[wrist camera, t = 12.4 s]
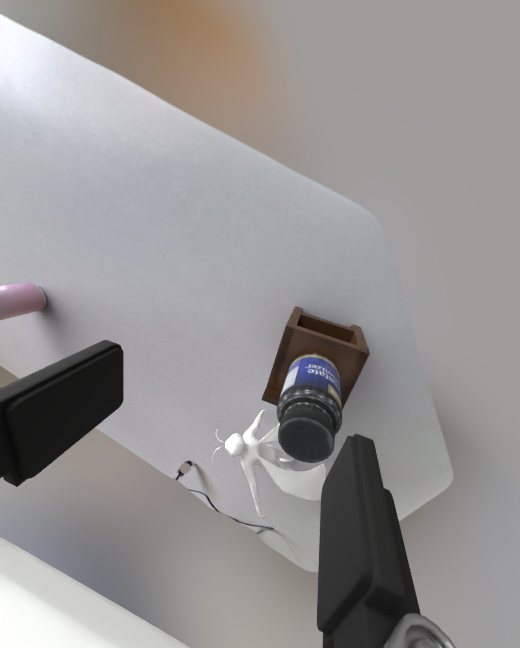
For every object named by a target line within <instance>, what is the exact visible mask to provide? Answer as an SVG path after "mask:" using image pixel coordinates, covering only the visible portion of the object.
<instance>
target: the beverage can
mask: <svg viewBox="0 0 520 648" xmlns="http://www.w3.org/2000/svg"><path fill="white" fill-rule="evenodd" d="M45 305H46V297H45V294H44V292H43V291H42V289H41V288H40V287H39V286H37V285H36V284H33V283H29V282H26V283H19V284H12V285H5V286H0V320H3V319H7V318H11V317H15V316H19V315H23V314H27V313H31V312H35V311H39V310H41V309H43V308H44V306H45Z"/></svg>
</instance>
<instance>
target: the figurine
mask: <svg viewBox="0 0 520 648" xmlns="http://www.w3.org/2000/svg"><path fill="white" fill-rule="evenodd" d="M264 411H266V410H265V409H263V410H262V411H261V412H260V414H259V415H258V416H257V418H256V419H255V421H254V423H253V424H252V425H251V426H250V428H249V429H248V430H246V431H245V433H244V435H243V437H241V436H240V435H239V434H233V435H232V436H231V437H230V438H229V439H228V440H227V441H226V443H225V445H224V446H225V448H226V450H227V452H228V453H229V454H230V455H231V456H233V457H235V456H240V455H241V466H242V468H243V470H244V472H245V475H246V477H247V480H248V482H249V484H250V487H251V491H252V495H253V499H254V503H255V505H256V510H257V513H258V516H259V517H260V518H265V517H264V516H263V515H262V514H261V511H260V508H259V498H258V487H257V481H256V475H255V471H254V467H253V465H259V466H260V467H262V468H264V469H265V470H267V472H268V473H269V475H270V476H271V478H272V479H273V481H274V482H275V484H276V485H277V486H278V487H279V488H280V490H281V491H283V492H286V493H288V494H291V495H293V496H296V497H299V498H302V499H306V500H309V501H316V502H319V500H320V499H321V492H322V487H323V484H324V482H325V473H326V469H325V466H324V464H322V465H319V466H317V467H315V468H313V469H311V470H309V471H294V470H293V469H289V468H286V467H284V466H281V465H280V464H279V463H278V462H277V460H276V458H280V459H279V460H280V461H284V462H292V461H294V458H293V457H291V456H289V455H288V454H287V453H285V452H284V451H281V450H280V449H278V448H276V447H274V446H272V445H269V444H263V443H266V442H271V441H279V440H278V430H279V425H280V424H278V425H277V426H276V427H274V428H273V429H272V430H271V431H270V432H269V433H268V434H267V435H265V436H264V437H263V438H262V439H261V440H260V441H258V440H257V439H256V438H255V434H256V432H257V430H258V427H259V425H260V421H261V417H262V413H263V412H264ZM216 432H217V431H216ZM216 437H217V436H216ZM217 439H218V438H217ZM218 440H219V439H218ZM219 441H221V440H219ZM221 442H222V441H221ZM223 443H224V442H223ZM221 447H222V446H221ZM219 448H220V447H219ZM217 449H218V448H217ZM217 449H216V450H217ZM216 450H215V451H216ZM215 451H214V452H215ZM213 455H214V454H213ZM261 516H262V517H261Z"/></svg>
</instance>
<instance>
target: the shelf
mask: <svg viewBox="0 0 520 648" xmlns="http://www.w3.org/2000/svg"><path fill="white" fill-rule="evenodd" d="M302 310H303V309H302V308H299V307H296V306H295V308H294V310H293V312H292V314H291V316H290V318H289V320H288V322H287V324H286V327H285V330H284V333H283V336H282V340H281V343H280V346H279V349H278V352H277V355H276V358H275V362H274V365H273V368H272V371H271V374H270V377H269V381H268V384H267V387H266V389H265V392H264V394H263V397H262V400H263V401H266V402H268V403H271V404H273V405H276V406H278V402H279V399H280V396H281V393H282V390H283V387H284V384H285V380H286V377H287V374H288V371H289V367H290V365H291V364H292V362H293V361H294V360H295V359H296V358H297V357H299V356H301V355H303V354H312V353H316V354H321V355H323V356H326V357H327V358H329V359H330V360H331V361H332V362H333V363H334V364H335V365H336V367H337V368H338V371H339V377H340V392H341V409H343V407H344V405H345V403H346V401H347V399H348V397H349V395H350V393H351V391H352V389H353V387H354V385H355V383H356V381H357V379H358V377H359V375H360V373H361V371H362V369H363V366H364V364H365V362H366V360H367V358H368V356H369V354H370V353H369V350H368V347H367V344H366V342H365V339H364V336H363V333H362V330H361V328H360V327H359V326H355V325H352V327H351V328H348V327H345V326H342V325H339V324H336V323H333V322H330V321H327V320H324V319H321V318H318V317H314V316H311V315H308V314H305V313H302Z"/></svg>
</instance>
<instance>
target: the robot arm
mask: <svg viewBox="0 0 520 648" xmlns="http://www.w3.org/2000/svg"><path fill="white" fill-rule="evenodd" d="M122 402H123V350H122V349H121V346H120V345H119V344H116V343H113V342H111V341H108V340H104V341H101V342H99V343H97V344H95V345H93V346H90V347H88V348H86V349H84V350H82V351H80V352H78V353H75V354H73V355H71V356H69V357H67V358H65V359H63V360H60V361H58V362H56V363H54V364H52V365H50V366H47V367H45V368H43V369H41V370H39V371H37V372H35V373H32V374H30V375H28V376H26V377H24V378H22V379H20V380H17V381H15V382H13V383H11V384H9V385H7V386H5V387H2V388H0V478H1V477H3V478H4V480H5V481H7V482H9V483H11V484H13V485H15V486H16V487H18V486H19V485H20V484H21V483H23V482H24V481H25V480H26V479H29V478H32V477H34V476H36V475H37V474H38V473H40V472H41V471H42V470H43V469H44V468H46V467H47V466H48V465H49V464H51V463H52V462H53V461H54V460H55V459H57V458H58V457H59V456H60V455H62V454H63V453H64V452H65V451H66V450H68V449H69V448H70V447H71V446H72V445H74V444H75V443H76V442H77V441H79V440H80V439H81V438H82V437H84V436H85V435H86V434H87V433H88V432H90V431H91V430H92V429H93V428H95V427H96V426H97V425H98V424H99V423H101V422H102V421H103V420H104V419H106V418H107V417H108V416H109V415H111V414H112V413H113V412H114V411H115V410H117V409H118V408H119V407H120V406H121V404H122ZM317 626H318V630H319V631H321V632H323V648H456V647H455V646H454V644H453V643H452V641H451V640H450V638H449V637H448V636H447V635H446V634H445V633H444V632H443V631H442V630H441V629H440V628H439V627H438V626H437V625H436V624H435V623H433V622H432V621H431V620H429V619H428V618H427V617H425V616H422V615H421V614H420V609H419V606H418V601H417V597H416V593H415V588H414V584H413V580H412V576H411V572H410V568H409V563H408V560H407V555H406V551H405V546H404V542H403V538H402V534H401V530H400V526H399V521H398V517H397V513H396V509H395V504H394V500H393V497H392V494H391V493H390V491H389V490H387V489H385V488H383V483H382V478H381V473H380V469H379V464H378V459H377V454H376V450H375V445H374V441H373V440H372V439H369V438H366V437H364V436H361V435H358V434H355V435H354V436H353V437H351V436H348V437H347V439H346V441H345V443H344V445H343V446H342V448H341V450H340V452H339V454H338V456H337V458H336V460H335V462H334V464H333V466H332V468H331V470H330V472H329V474H328V476H327V478H326V480H325V482H324V484H323V487H322V492H321V517H320V545H319V574H318V604H317ZM0 648H190V647H189V646H187V645H185V644H183V643H181V642H180V641H178V640H177V639H175V638H173V637H172V636H170V635H168V634H167V633H165V632H163V631H161V630H160V629H158V628H156V627H154V626H153V625H151V624H150V623H148V622H146V621H144V620H143V619H141V618H139V617H138V616H136V615H134V614H132V613H131V612H129V611H127V610H126V609H124V608H122V607H121V606H119V605H117V604H116V603H114V602H112V601H110V600H108V599H107V598H105V597H103V596H102V595H100V594H98V593H96V592H95V591H93V590H91V589H90V588H88V587H86V586H84V585H83V584H81V583H79V582H78V581H76V580H74V579H73V578H71V577H69V576H67V575H66V574H64V573H62V572H60V571H58V570H57V569H55V568H54V567H52V566H50V565H48V564H47V563H45V562H43V561H41V560H40V559H38V558H36V557H35V556H33V555H31V554H29V553H27V552H26V551H24V550H22V549H21V548H19V547H17V546H15V545H14V544H12V543H10V542H8V541H7V540H5V539H3V538H2V537H0Z"/></svg>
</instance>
